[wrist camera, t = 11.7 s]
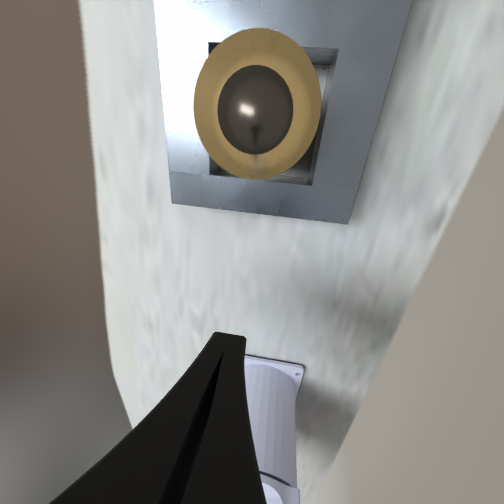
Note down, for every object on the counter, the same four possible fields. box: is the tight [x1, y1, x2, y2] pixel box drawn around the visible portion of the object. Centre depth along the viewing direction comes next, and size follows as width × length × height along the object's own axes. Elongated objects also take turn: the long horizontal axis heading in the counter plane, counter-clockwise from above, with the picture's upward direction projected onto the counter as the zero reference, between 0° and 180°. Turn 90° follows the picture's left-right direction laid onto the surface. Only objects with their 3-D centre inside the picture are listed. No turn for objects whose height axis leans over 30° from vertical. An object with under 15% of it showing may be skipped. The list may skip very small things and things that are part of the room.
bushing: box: [193, 28, 321, 180], centre depth 11 cm, size 4×4×7 cm
